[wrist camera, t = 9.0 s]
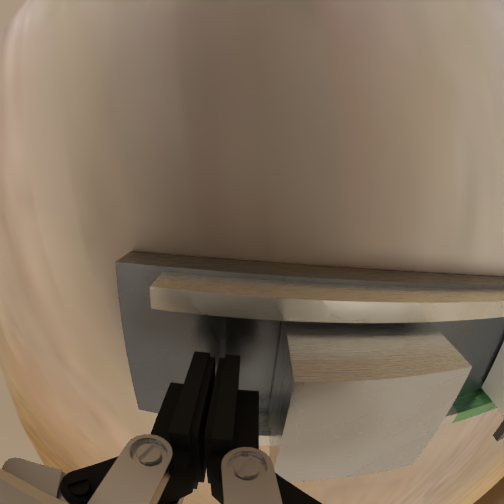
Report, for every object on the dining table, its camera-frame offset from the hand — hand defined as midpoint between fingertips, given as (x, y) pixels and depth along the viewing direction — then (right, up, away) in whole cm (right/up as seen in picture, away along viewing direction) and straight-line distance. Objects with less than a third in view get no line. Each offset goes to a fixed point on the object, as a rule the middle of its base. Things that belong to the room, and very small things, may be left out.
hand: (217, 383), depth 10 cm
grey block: (+5, 0, +1) cm, 5 cm away
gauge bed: (+9, 0, +3) cm, 9 cm away
